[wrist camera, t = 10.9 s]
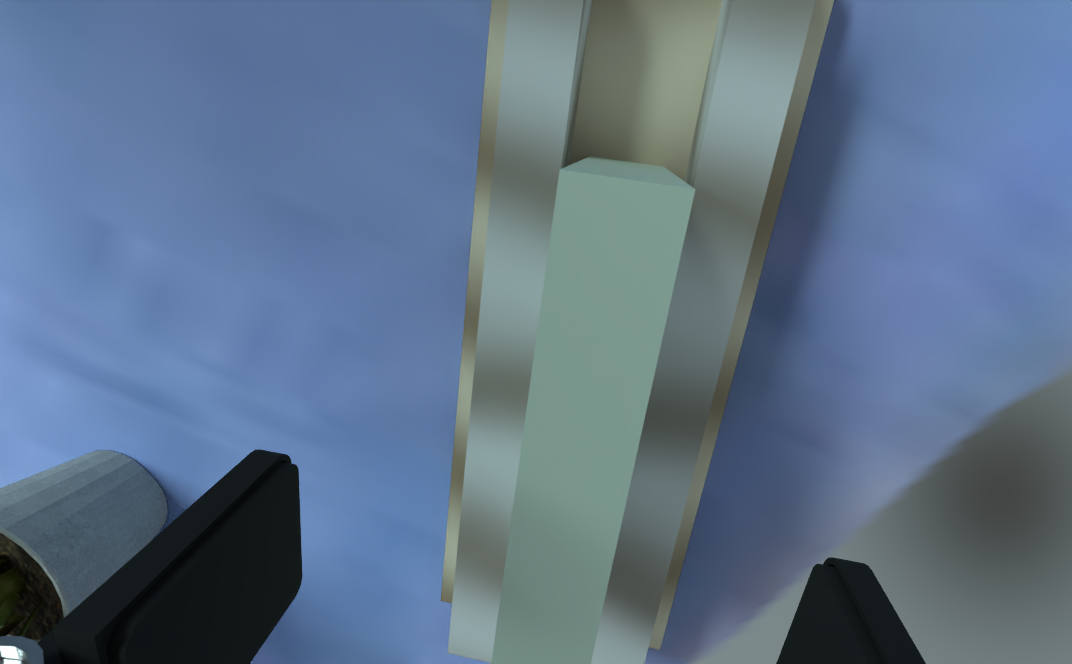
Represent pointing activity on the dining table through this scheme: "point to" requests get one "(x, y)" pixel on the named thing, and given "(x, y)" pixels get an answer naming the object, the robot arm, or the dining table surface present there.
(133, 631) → the robot arm
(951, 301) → the dining table surface
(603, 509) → the door panel
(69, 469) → the house plant
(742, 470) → the dining table surface
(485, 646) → the door track
